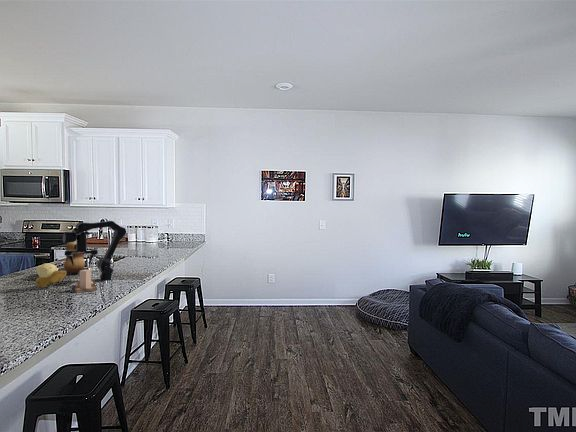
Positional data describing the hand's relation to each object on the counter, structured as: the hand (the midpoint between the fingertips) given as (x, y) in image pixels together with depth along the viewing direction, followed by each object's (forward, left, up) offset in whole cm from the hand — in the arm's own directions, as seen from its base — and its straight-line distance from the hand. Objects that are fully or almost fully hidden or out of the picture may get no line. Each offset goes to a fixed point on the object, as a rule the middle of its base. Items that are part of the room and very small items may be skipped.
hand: (81, 265), depth 239 cm
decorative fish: (+17, -7, -13) cm, 23 cm away
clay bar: (-3, +20, -12) cm, 23 cm away
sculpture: (+21, -30, -13) cm, 39 cm away
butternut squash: (+5, -41, -13) cm, 43 cm away
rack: (-3, +16, -13) cm, 20 cm away
